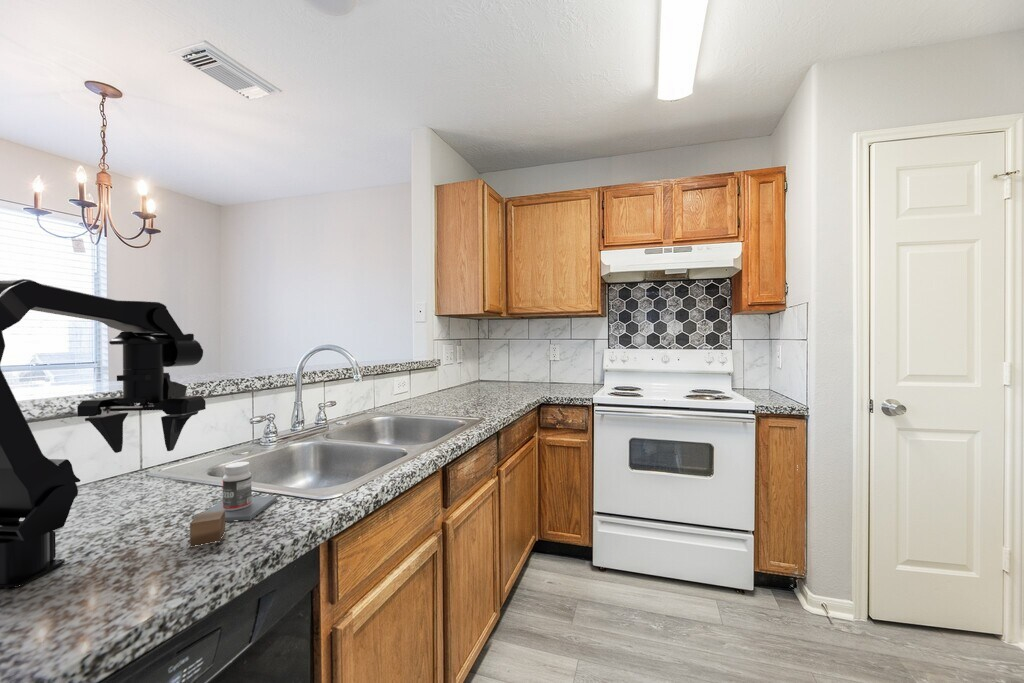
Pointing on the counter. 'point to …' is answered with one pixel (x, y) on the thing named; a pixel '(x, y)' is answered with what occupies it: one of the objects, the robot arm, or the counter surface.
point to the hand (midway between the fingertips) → (144, 451)
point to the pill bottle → (236, 486)
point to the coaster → (246, 513)
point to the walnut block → (207, 527)
